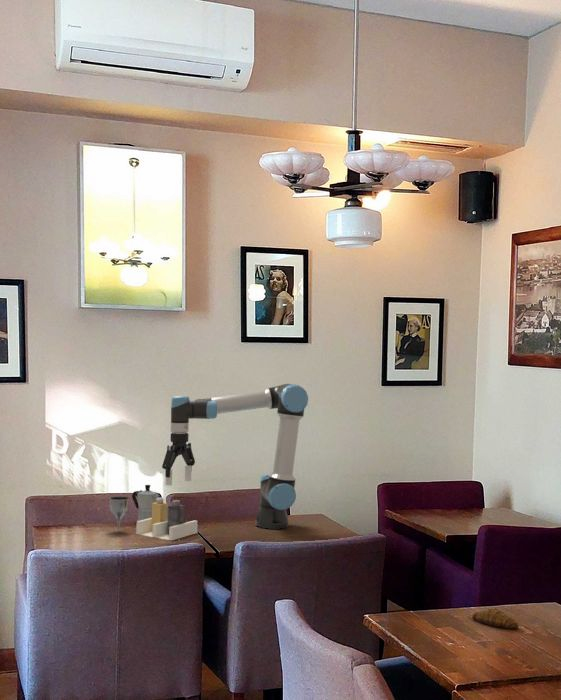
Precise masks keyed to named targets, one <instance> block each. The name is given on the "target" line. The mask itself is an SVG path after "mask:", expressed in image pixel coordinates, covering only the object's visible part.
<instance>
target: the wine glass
mask: <svg viewBox="0 0 561 700" xmlns="http://www.w3.org/2000/svg"><path fill="white" fill-rule="evenodd" d="M129 505H130V497H129V496H124V495H121V496H120V495H118V496H117V495H115V496H110V497H109V509H110V511H111V514H113V516H114V517H115V519H116V522H117V530H116V533H120V532H121V530H120V524H121V521H122V518H123V517H124V516H125V514H126V513H127V512H128V510H129Z"/></svg>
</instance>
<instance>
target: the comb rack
mask: <svg viewBox="0 0 561 700" xmlns="http://www.w3.org/2000/svg"><path fill="white" fill-rule="evenodd" d="M151 526H152V518H149V519H144V520H140V521H138V520H137V521H136V529H135V531H136V533H135V535H139V536H140V535H141V536H145V537H150V538H156V539H161V540H166V541H167V540H168V541H175V540H177V539H181V538H184V537H185V538H186V537H188V536H191V535H194V534H198V520H191V521H186V522H183V524H179V525H175V526H172V527H169V535H167V532H168V519H167V521H163V522H159V523H156V524H153V531H152V532H151Z"/></svg>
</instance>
